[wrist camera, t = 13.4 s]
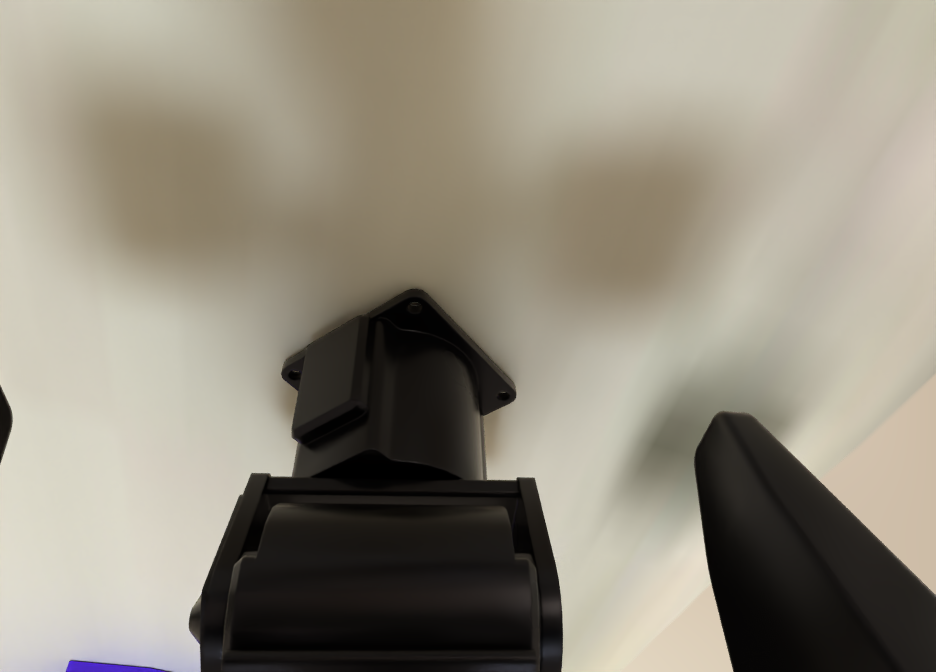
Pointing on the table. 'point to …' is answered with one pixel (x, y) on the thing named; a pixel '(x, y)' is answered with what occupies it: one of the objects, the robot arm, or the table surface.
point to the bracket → (104, 668)
